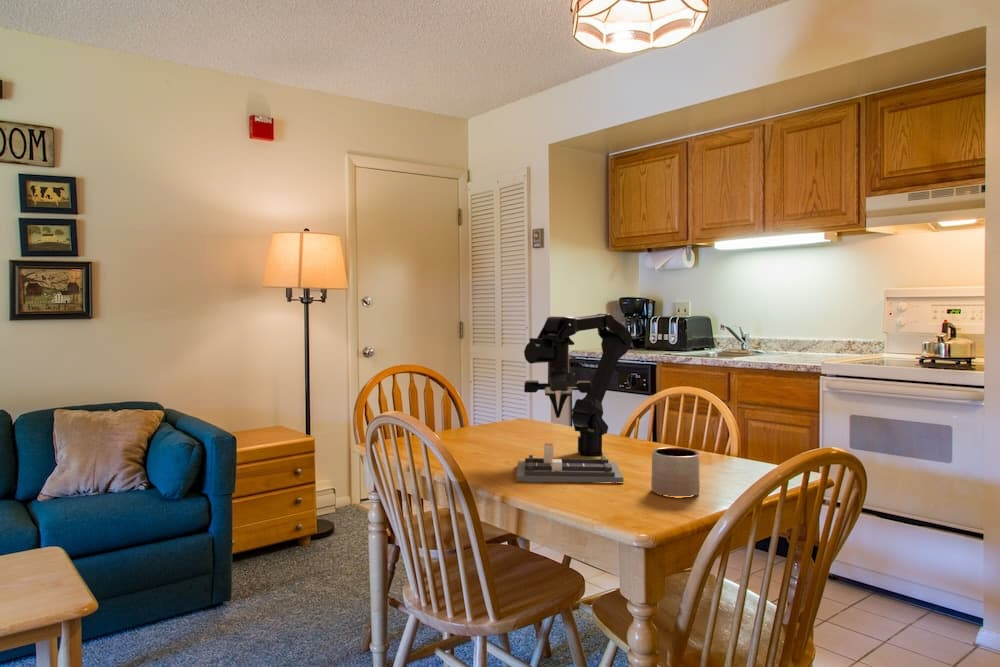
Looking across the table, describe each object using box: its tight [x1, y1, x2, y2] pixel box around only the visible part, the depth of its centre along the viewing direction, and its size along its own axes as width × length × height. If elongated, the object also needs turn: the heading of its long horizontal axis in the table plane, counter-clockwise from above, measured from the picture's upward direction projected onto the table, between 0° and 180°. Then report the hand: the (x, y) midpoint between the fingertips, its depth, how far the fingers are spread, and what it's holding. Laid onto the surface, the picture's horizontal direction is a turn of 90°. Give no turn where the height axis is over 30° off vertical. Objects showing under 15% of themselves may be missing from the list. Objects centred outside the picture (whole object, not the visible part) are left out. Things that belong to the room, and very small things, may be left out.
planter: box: [650, 446, 701, 496], centre depth 157 cm, size 11×11×10 cm
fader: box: [543, 442, 554, 463], centre depth 178 cm, size 2×4×5 cm, turn 177°
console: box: [516, 454, 624, 484], centre depth 174 cm, size 26×16×4 cm, turn 87°
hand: (557, 417), depth 189 cm, fingers closed
